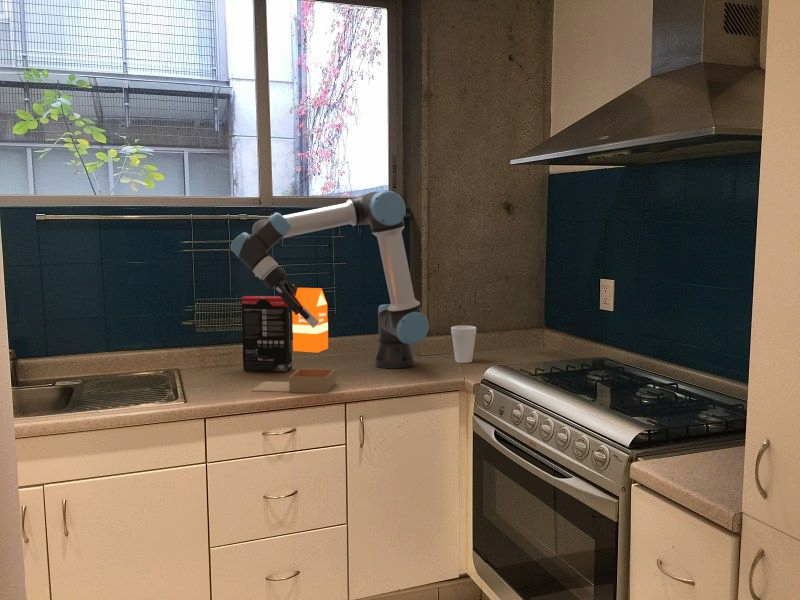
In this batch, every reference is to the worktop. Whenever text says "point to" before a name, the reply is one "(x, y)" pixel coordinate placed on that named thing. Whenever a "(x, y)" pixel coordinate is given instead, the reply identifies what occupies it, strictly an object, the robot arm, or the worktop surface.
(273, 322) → the graphics card box
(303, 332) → the orange juice
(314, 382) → the kraft mailer box
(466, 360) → the foam cup
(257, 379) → the worktop surface
